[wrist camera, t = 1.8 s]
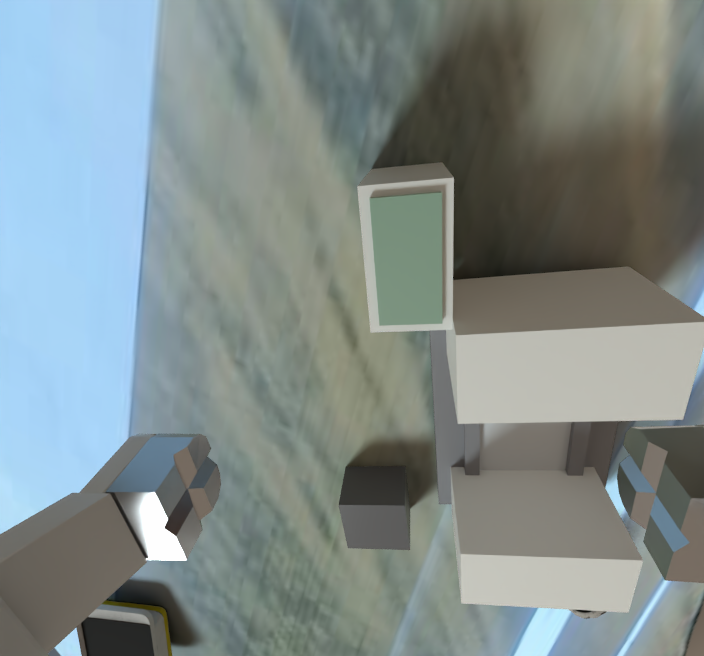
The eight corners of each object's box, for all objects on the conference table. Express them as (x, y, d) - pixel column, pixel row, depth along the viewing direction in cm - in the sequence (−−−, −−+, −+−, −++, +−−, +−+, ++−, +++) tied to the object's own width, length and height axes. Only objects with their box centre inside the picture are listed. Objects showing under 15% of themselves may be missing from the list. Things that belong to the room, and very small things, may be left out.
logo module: (371, 168, 24) (356, 187, 17) (442, 162, 23) (454, 178, 16) (380, 283, 27) (370, 335, 20) (442, 279, 26) (453, 332, 20)
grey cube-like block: (345, 465, 34) (338, 504, 31) (405, 465, 34) (404, 505, 30) (354, 506, 37) (348, 548, 33) (409, 507, 36) (410, 549, 32)
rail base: (426, 273, 26) (432, 336, 18) (635, 256, 24) (739, 319, 16) (438, 497, 35) (446, 602, 27) (591, 499, 32) (646, 613, 25)
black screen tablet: (184, 683, 52) (171, 582, 49) (164, 722, 48) (148, 615, 45) (117, 673, 53) (101, 575, 50) (92, 711, 49) (72, 606, 46)
